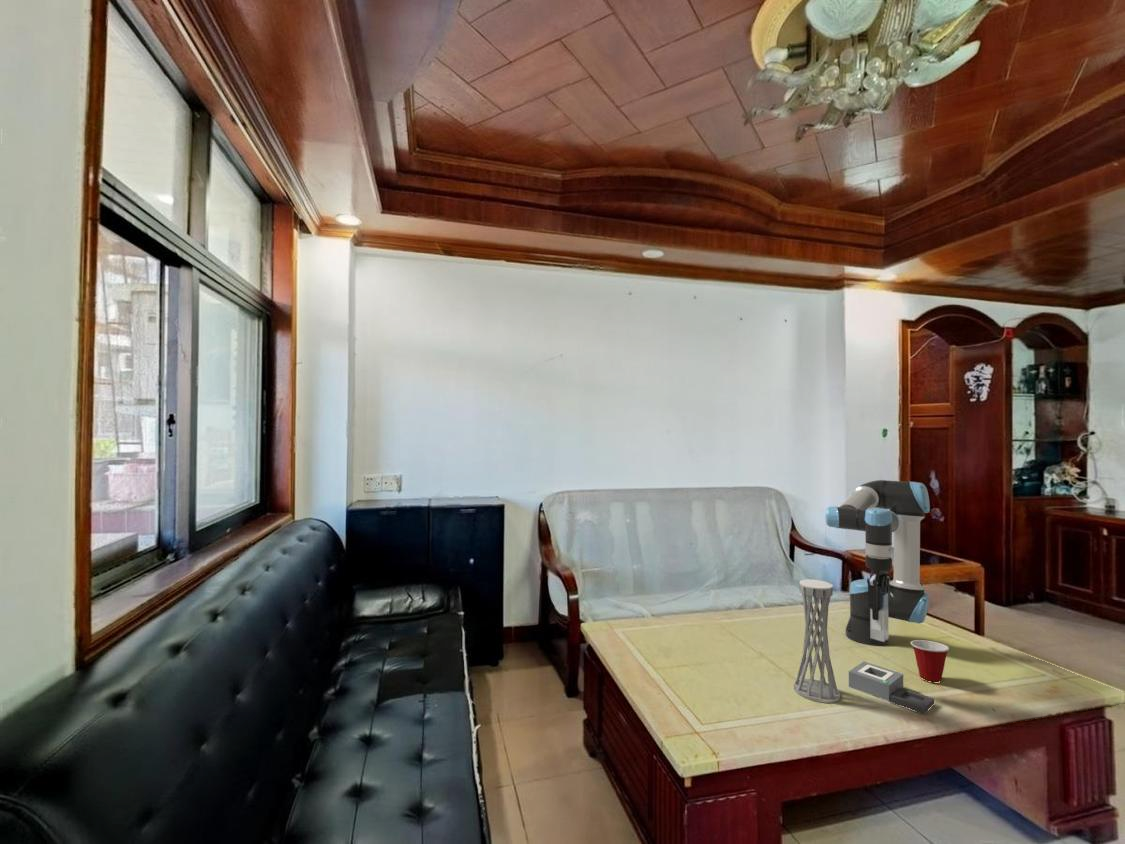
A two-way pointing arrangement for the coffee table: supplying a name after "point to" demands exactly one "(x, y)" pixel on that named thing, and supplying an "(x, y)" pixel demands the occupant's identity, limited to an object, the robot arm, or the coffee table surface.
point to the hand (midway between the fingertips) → (879, 627)
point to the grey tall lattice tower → (812, 687)
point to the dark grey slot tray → (912, 700)
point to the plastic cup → (930, 659)
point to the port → (875, 680)
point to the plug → (883, 633)
